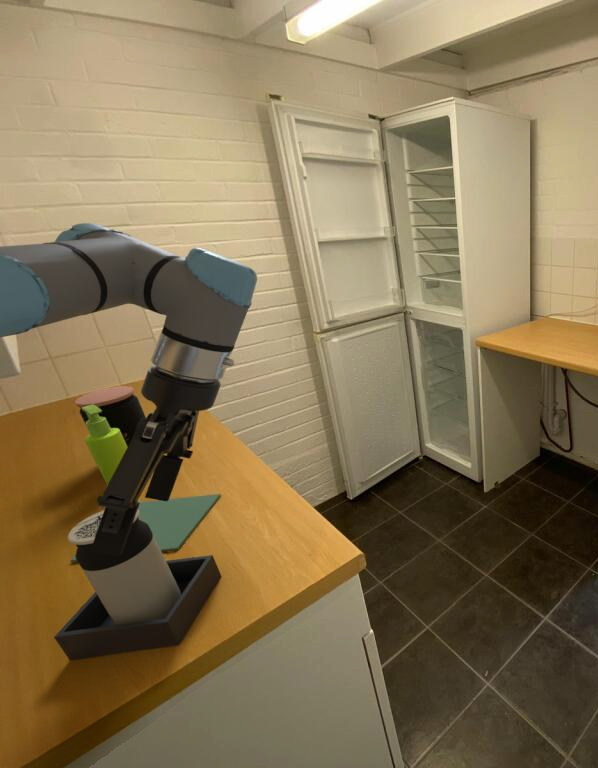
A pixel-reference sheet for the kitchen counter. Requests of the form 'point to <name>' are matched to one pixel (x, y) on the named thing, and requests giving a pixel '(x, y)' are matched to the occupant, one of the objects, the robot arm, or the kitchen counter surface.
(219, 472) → the kitchen counter surface
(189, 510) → the mat
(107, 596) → the travel mug
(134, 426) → the coffee jar
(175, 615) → the dark grey tray
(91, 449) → the soap dispenser
